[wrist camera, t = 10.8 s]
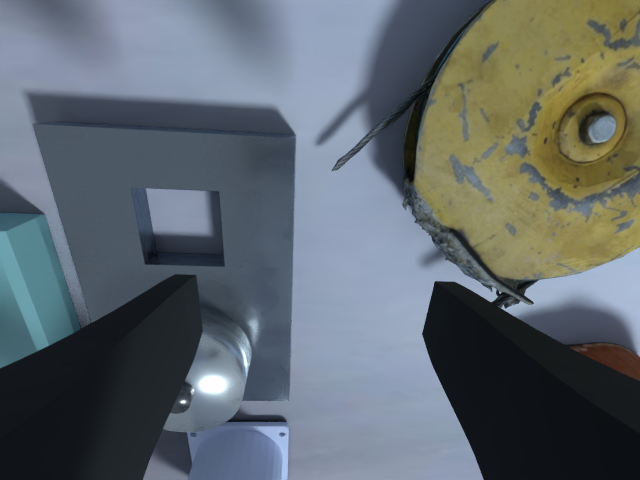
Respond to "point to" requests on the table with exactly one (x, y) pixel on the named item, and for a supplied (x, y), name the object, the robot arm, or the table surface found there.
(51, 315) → the tray
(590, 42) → the yellow flat irregular piece
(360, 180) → the table surface
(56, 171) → the plate
